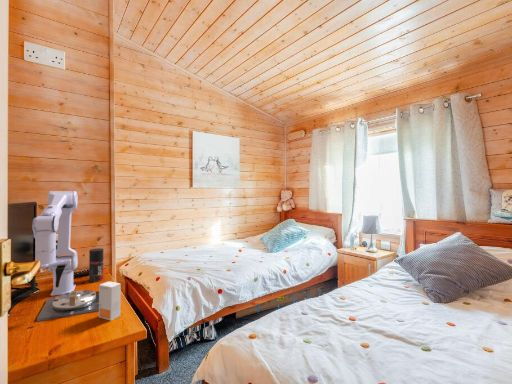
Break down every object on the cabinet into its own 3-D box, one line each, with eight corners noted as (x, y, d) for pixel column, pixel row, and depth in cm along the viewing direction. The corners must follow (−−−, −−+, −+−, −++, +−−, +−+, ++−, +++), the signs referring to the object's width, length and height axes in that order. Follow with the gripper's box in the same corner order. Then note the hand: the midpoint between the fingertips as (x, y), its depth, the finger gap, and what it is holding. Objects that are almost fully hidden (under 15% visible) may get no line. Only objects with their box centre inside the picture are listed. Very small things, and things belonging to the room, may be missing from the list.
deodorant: (96, 282, 129) (97, 251, 129) (86, 281, 130) (86, 250, 130) (106, 278, 135) (106, 248, 135) (95, 277, 136) (96, 248, 136)
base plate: (47, 301, 108) (47, 298, 108) (104, 292, 118) (104, 290, 118) (36, 323, 92) (36, 319, 92) (103, 311, 101) (103, 308, 101)
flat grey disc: (56, 298, 108) (56, 285, 108) (96, 292, 115) (96, 279, 115) (48, 315, 94) (48, 300, 94) (94, 307, 101) (94, 293, 101)
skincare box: (98, 318, 96) (98, 284, 96) (108, 312, 100) (108, 280, 100) (111, 321, 94) (111, 287, 93) (121, 315, 98) (121, 283, 97)
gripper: (15, 254, 88) (15, 295, 89) (69, 250, 95) (69, 288, 95) (21, 249, 94) (21, 288, 95) (71, 246, 101) (71, 282, 102)
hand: (45, 288), depth 95 cm, fingers open, 6 cm apart
